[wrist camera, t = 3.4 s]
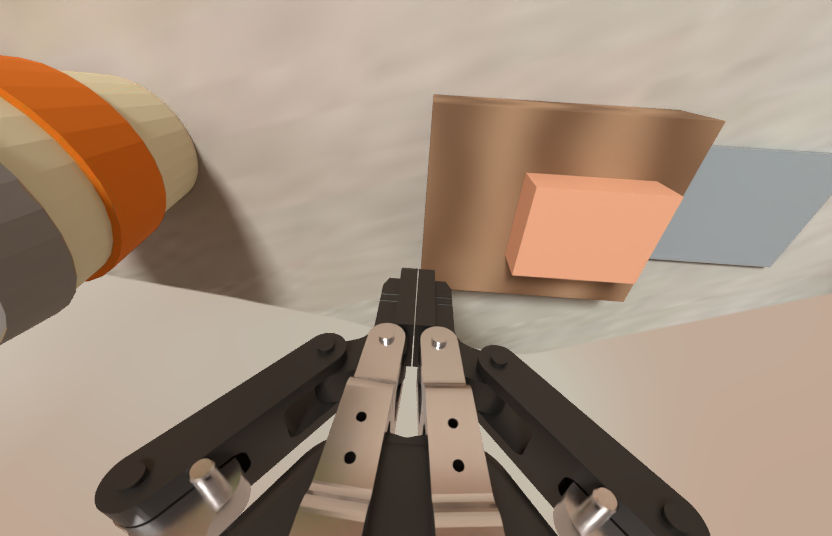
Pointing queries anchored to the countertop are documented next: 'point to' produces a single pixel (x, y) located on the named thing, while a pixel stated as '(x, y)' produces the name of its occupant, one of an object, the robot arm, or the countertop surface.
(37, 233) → the reusable coffee cup
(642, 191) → the salmon foam block
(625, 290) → the block
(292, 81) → the countertop surface
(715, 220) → the mat
